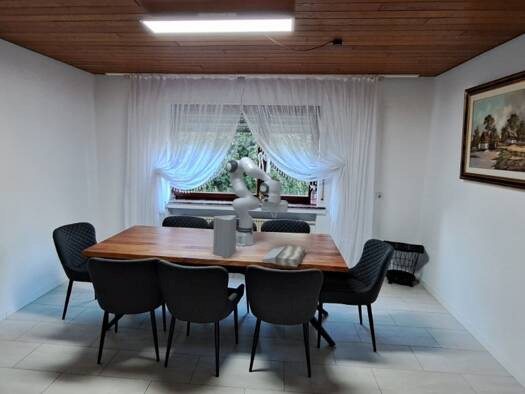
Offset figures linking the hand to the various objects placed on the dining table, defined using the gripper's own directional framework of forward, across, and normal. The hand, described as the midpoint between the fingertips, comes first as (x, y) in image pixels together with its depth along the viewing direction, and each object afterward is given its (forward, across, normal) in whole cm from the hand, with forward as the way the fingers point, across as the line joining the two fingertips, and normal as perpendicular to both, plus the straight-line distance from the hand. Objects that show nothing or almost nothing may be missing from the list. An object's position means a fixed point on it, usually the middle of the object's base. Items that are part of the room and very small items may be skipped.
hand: (274, 217), depth 279 cm
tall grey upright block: (+27, +34, +18) cm, 47 cm away
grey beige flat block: (+27, -17, +12) cm, 34 cm away
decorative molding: (+28, -4, +11) cm, 30 cm away
